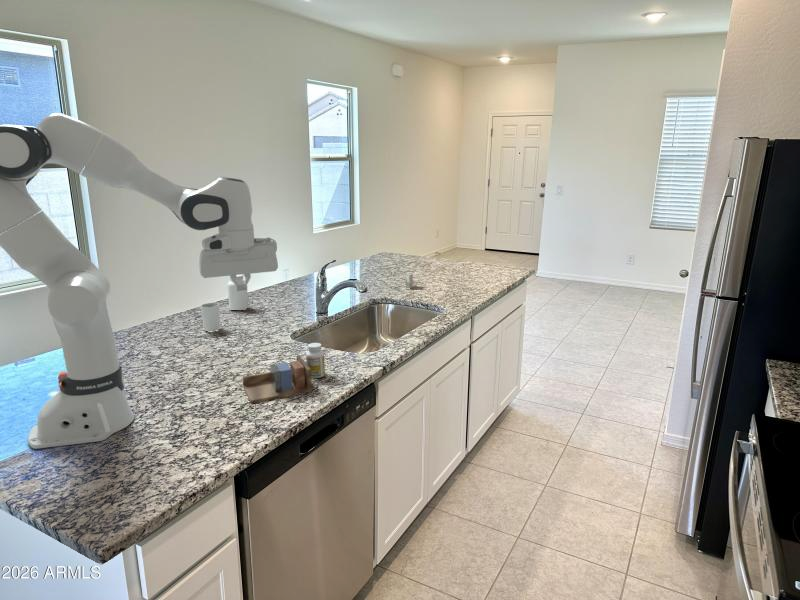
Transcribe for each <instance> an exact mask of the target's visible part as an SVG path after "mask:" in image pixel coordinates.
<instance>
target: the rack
mask: <svg viewBox="0 0 800 600" xmlns="http://www.w3.org/2000/svg"><path fill="white" fill-rule="evenodd" d="M289 365H290V366H289V367H290V368H291V374H292V389H291V390H285V391H278V392H276V391H275V390H274V388H273V386H272V385H271V372H270V371H267V372H263V373H257V374H251V375H250V374H249V375H244V376H242V379H241V380H242V386H243V387H242V388H243V389H244V392H245V393H246V396H247V398H248V401H249V402H250V403H249V404H256V403H259V402H260V403H261V402H265V401H270V400H275V399H276V400H277V399H280V398H287V397H291V396H295V395H301V394H307V393H311V392H313V387H312V385H313V384H312V378H311V369H310V368H309V366H308V365H307V364H306V360H304V359H303V358H302V356H301V355H296V360H294V361H289Z"/></svg>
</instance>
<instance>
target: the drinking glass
mask: <svg viewBox="0 0 800 600" xmlns="http://www.w3.org/2000/svg"><path fill="white" fill-rule="evenodd" d="M220 310H221V309H220V303H218V302H214V301H213V302H211V301H210V302H204V303H202V304H201V305H200V311H201V318H202V326H203V330H205V331H215V330H218V329H220V330H221V315H220ZM205 331H204V332H205Z"/></svg>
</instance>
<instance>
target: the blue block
mask: <svg viewBox="0 0 800 600" xmlns="http://www.w3.org/2000/svg"><path fill="white" fill-rule="evenodd" d="M275 364H276V365H277V367H278V368H279V370H280V376H281V390H282V391H285V390H291V389H292V374H291V368H290V366H289V364H288V363H287V362H282V363H275Z"/></svg>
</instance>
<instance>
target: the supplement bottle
mask: <svg viewBox="0 0 800 600" xmlns="http://www.w3.org/2000/svg"><path fill="white" fill-rule="evenodd" d="M307 350H308V351H306V354H305V363H306V364H307V365H308V366H309V368H310V369H311V379H318V378H319V379H320V378H322V377H324V376H325V374H326V369H325V368H326V366H325V352H324V351H323V350H322V344H321V343H320V342H311V343H309V344H308V345H307Z"/></svg>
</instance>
